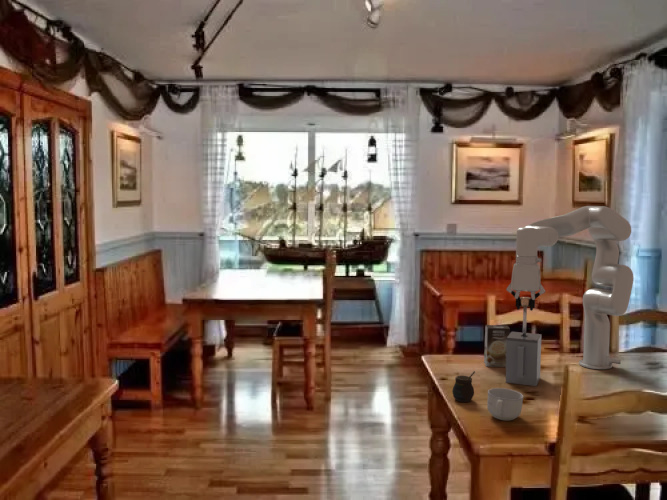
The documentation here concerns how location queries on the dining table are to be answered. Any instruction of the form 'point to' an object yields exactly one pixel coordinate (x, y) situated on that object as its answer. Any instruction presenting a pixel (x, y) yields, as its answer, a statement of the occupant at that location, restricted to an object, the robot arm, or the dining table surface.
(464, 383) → the mate gourd
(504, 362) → the coffee box
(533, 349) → the press
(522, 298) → the plunger
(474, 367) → the dining table surface
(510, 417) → the teacup
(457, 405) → the dining table surface
